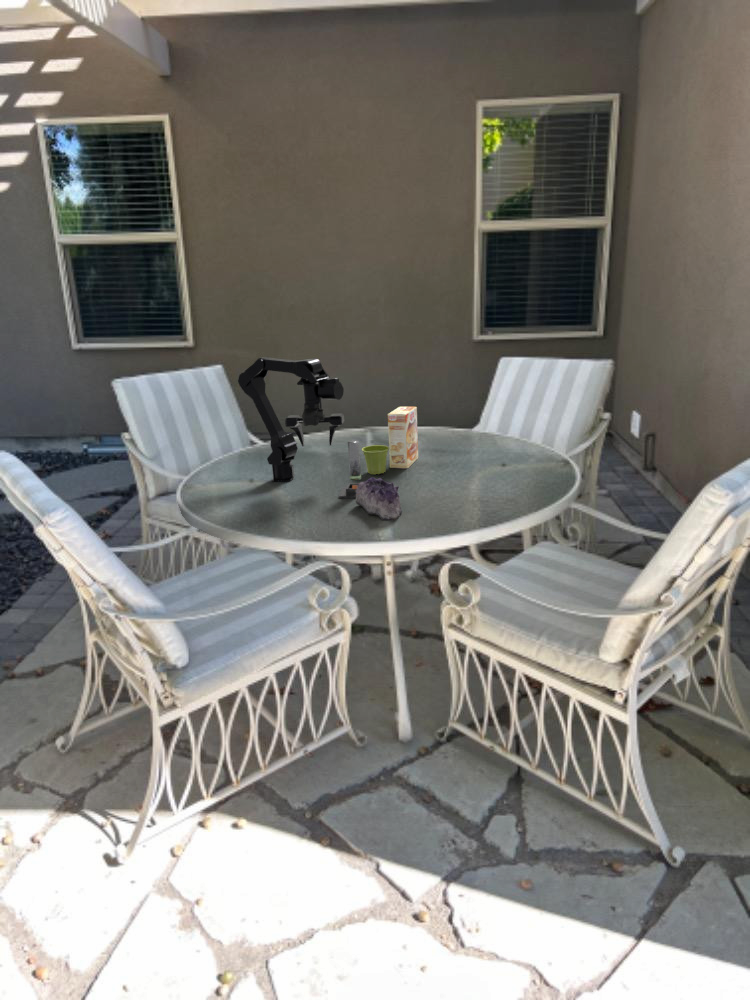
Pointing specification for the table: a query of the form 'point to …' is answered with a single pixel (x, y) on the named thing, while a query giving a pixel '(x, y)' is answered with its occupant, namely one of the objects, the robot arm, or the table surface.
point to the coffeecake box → (403, 437)
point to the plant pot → (376, 458)
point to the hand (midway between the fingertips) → (316, 445)
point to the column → (354, 460)
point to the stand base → (348, 491)
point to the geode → (379, 498)
